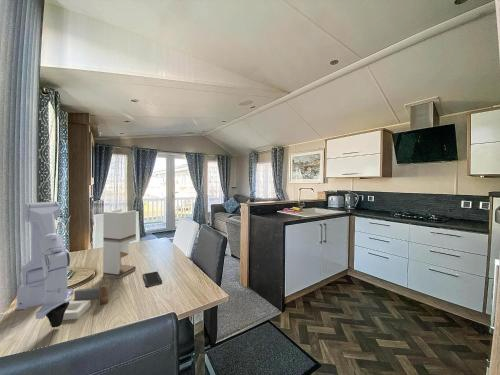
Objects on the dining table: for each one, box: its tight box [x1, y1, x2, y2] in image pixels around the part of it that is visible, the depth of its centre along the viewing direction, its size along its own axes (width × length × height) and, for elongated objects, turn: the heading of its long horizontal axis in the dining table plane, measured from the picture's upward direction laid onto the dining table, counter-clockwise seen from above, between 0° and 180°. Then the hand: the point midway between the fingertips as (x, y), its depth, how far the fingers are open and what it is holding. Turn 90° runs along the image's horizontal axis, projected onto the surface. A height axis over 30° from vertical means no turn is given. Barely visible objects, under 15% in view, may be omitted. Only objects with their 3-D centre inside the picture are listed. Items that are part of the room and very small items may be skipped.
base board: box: [73, 287, 100, 301], centre depth 85 cm, size 11×17×4 cm, turn 9°
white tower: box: [102, 209, 137, 279], centre depth 119 cm, size 11×11×35 cm
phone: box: [142, 271, 163, 288], centre depth 113 cm, size 8×1×15 cm
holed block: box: [62, 299, 92, 321], centre depth 82 cm, size 8×8×2 cm
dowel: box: [99, 284, 109, 306], centre depth 89 cm, size 3×3×8 cm
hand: (56, 325), depth 74 cm, fingers closed
